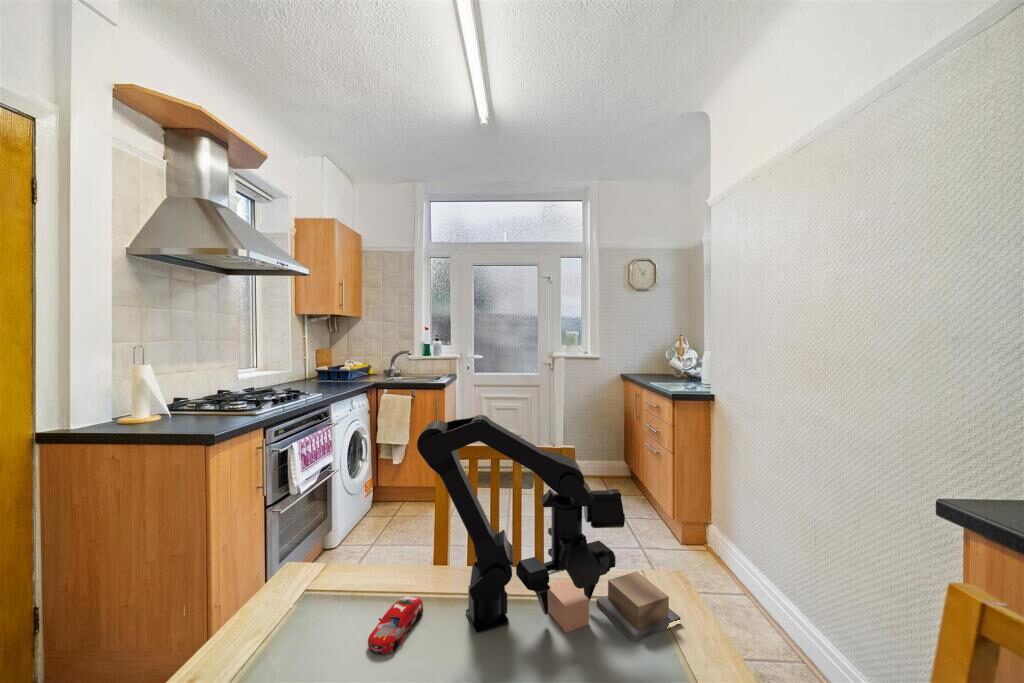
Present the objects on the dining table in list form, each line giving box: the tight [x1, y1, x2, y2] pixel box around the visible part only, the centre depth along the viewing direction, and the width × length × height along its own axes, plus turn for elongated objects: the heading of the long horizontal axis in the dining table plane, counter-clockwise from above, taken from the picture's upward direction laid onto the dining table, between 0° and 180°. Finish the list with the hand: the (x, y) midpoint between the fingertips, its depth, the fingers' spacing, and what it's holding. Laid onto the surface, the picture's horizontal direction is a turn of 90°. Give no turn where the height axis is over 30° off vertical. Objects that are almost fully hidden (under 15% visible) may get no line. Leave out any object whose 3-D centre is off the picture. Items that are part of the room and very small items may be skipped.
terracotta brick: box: [548, 578, 590, 633], centre depth 87 cm, size 5×7×5 cm
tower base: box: [596, 570, 682, 642], centre depth 87 cm, size 11×11×5 cm
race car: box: [367, 594, 424, 655], centre depth 83 cm, size 13×5×4 cm, turn 160°
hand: (566, 606), depth 87 cm, fingers open, 9 cm apart
